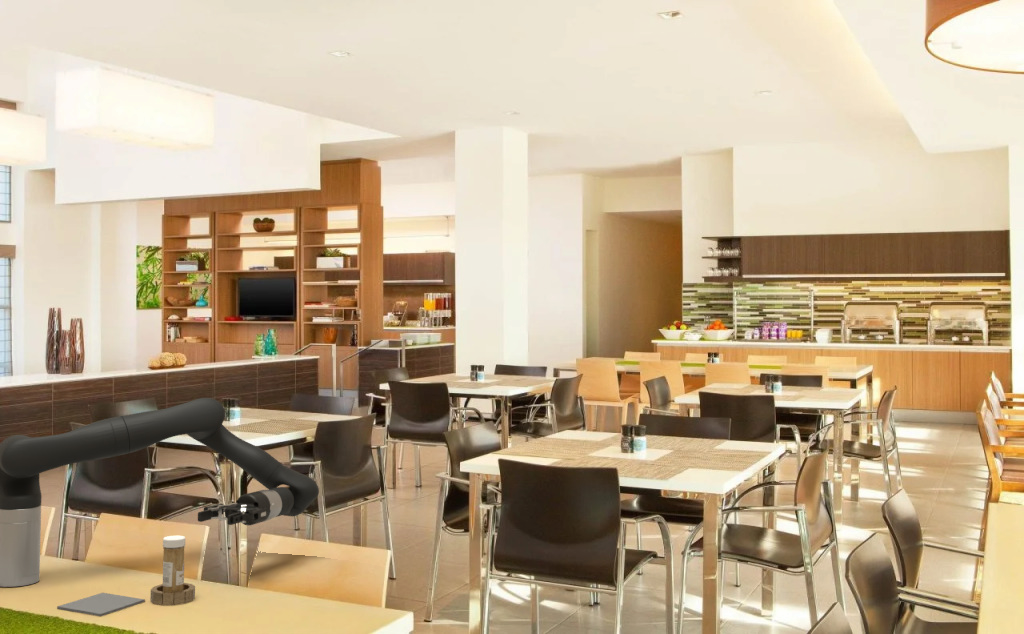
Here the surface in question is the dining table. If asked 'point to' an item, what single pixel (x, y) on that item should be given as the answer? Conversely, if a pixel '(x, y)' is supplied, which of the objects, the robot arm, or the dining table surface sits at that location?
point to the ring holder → (172, 595)
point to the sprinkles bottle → (173, 563)
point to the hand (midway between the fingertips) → (213, 518)
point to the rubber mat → (101, 604)
